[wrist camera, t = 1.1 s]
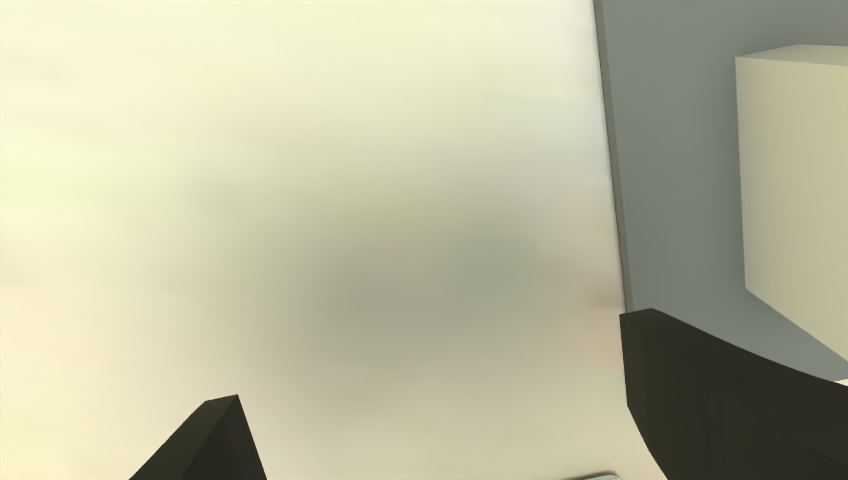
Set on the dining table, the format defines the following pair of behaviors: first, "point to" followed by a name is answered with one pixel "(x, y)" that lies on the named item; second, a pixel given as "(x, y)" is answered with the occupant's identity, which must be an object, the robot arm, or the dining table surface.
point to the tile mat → (697, 160)
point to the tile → (796, 184)
